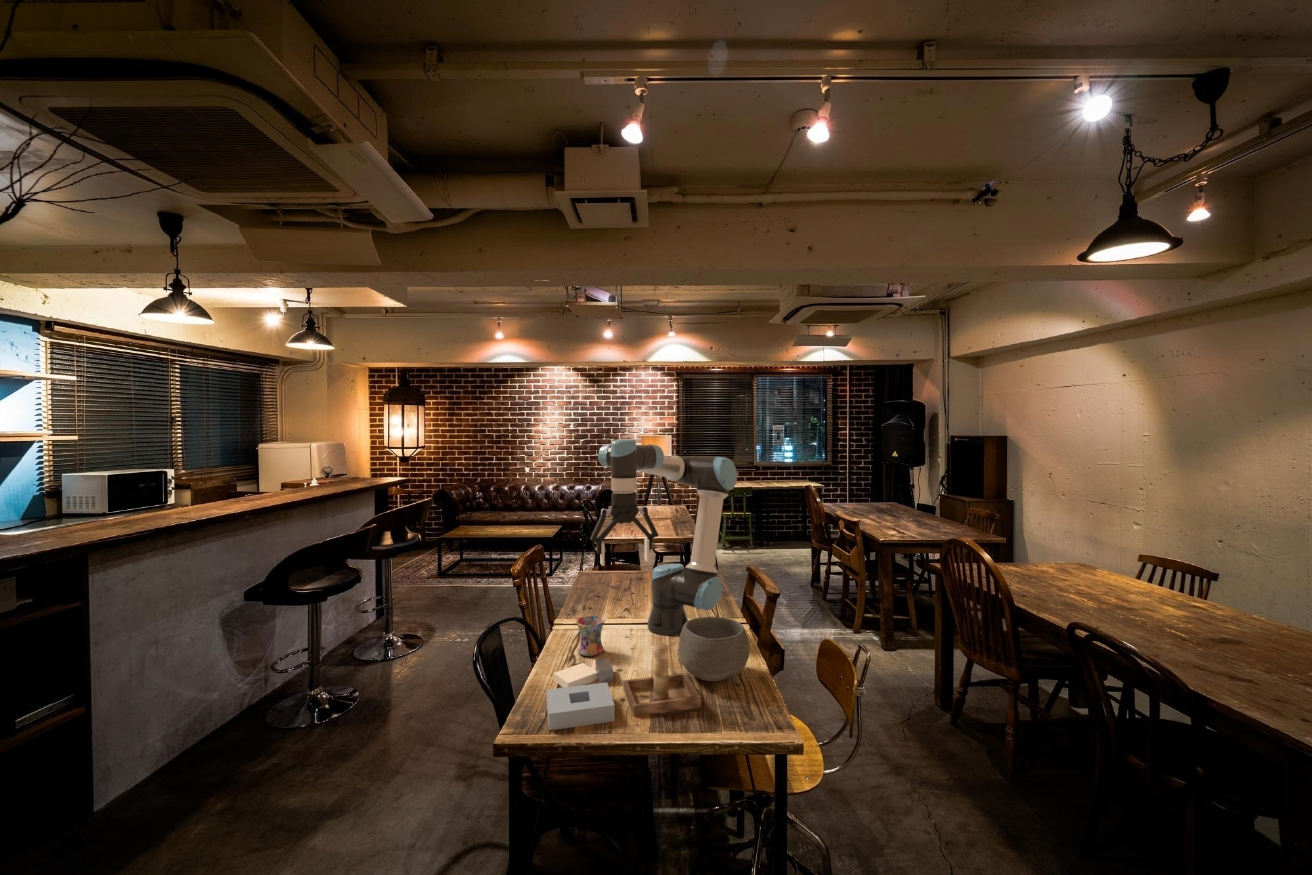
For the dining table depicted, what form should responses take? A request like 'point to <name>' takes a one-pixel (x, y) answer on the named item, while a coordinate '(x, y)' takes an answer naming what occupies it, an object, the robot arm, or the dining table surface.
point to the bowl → (713, 648)
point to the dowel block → (579, 706)
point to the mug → (590, 635)
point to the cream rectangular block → (575, 676)
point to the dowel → (660, 672)
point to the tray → (679, 696)
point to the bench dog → (604, 670)
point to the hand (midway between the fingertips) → (625, 562)
